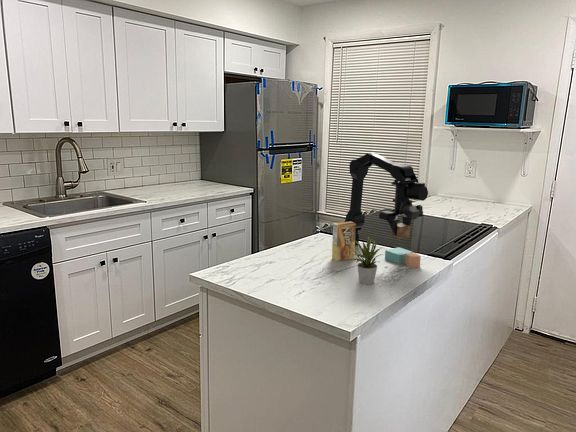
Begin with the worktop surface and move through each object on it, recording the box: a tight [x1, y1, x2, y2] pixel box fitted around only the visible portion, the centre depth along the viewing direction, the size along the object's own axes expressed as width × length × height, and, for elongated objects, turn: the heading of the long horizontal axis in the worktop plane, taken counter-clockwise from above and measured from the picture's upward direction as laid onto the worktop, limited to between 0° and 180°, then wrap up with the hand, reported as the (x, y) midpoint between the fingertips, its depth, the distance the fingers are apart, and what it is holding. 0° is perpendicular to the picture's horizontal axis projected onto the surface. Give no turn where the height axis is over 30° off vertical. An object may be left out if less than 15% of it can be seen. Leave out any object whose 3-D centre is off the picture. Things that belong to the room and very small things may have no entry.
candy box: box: [331, 221, 356, 262], centre depth 183 cm, size 9×4×15 cm, turn 116°
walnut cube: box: [390, 222, 411, 240], centre depth 181 cm, size 5×5×5 cm
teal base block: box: [384, 247, 414, 265], centre depth 183 cm, size 8×8×4 cm
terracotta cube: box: [404, 252, 421, 268], centre depth 176 cm, size 4×4×4 cm
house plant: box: [351, 236, 384, 285], centre depth 158 cm, size 14×14×16 cm
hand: (400, 234), depth 181 cm, fingers closed on walnut cube, 5 cm apart
